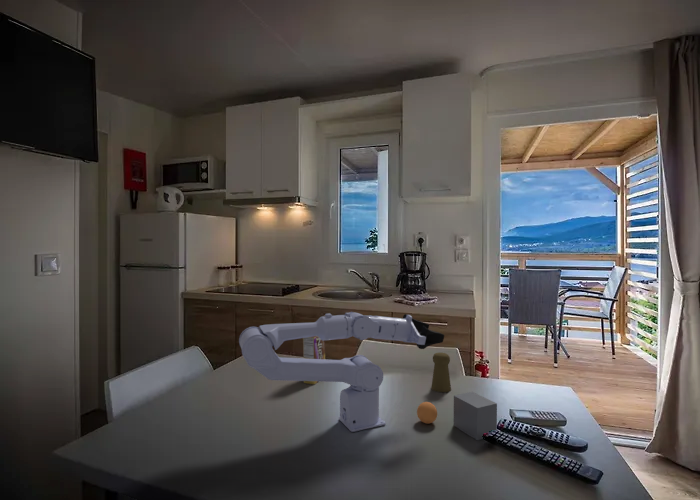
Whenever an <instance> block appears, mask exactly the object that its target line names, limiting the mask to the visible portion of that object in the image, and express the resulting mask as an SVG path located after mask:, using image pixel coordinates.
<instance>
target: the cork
mask: <svg viewBox="0 0 700 500" xmlns="http://www.w3.org/2000/svg"><path fill="white" fill-rule="evenodd" d="M432 361H433V365H434V366H433V371H432V372H433V374H432V378H431V379H432V380H431V386H430V389H431V390H432V391H434V392H438V393H449V392H451V391H452V386H451V379H450V378H451V377H450V368H449V364H450V363H451V362H450V361H451V358H450V355H449V354H448V353H446V352H435V353H434V354H433V356H432Z"/></svg>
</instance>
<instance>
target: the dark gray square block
mask: <svg viewBox="0 0 700 500" xmlns="http://www.w3.org/2000/svg"><path fill="white" fill-rule="evenodd" d="M497 412H498V403H497V402H495V401H493V400H491V399H488V398H486V397H484V396H482V395H480V394H478V393H476V392H474V391H469V392H465V393H460V394H455V395H453V426H454V427H455V428H456V429H459V430H460V431H462V432H463V433H465V434H466V435H468V436H469V437H471V438H472V439H474V440H475V441H480V440H483V437H482V436H483V434H484V433H487V432H489V431H491V430H497V429H498V428H497V427H498V413H497ZM497 431H498V430H497Z"/></svg>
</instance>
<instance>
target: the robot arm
mask: <svg viewBox="0 0 700 500" xmlns="http://www.w3.org/2000/svg"><path fill="white" fill-rule="evenodd" d="M313 336H318V337H319V338H320V339H321V340H322V341H325V342H326V341H331V340H332V341H333V340H342V339H343V340H344V339H349V338H351V337H354V338H355V339H358V340H360V341H365V340H367V339H369V338H371V339H376V340H386V341H400V342H404V343H413V344H416V347H417V348H418V349H419V350H424V349H426V348H428V347H430V346H432V345H436V344H441V343H444V339H445V334H444V333H442V332H439V331H434V330H431V329H430V324H428V323H426V322H424V321H420V320H418V319H415V318H413V316H412V315H411V314H407V313H406V314H405V313H404V315H403V316H402V318H401V317H390V316H381V315H370V314H369V315H365V314H364V315H363V314H362V313H359V312H354V311H350V312H345V313H344V314H337V315H333V314H331V313H330V312H329V313H325V314H324V315H322V316H320V317H319V318H318V319H316V321H314V322H296V323H295V322H293V323H271V324H270V323H269V324H263V325H259V326H258V327H257V326H249V327H246V328H245V329H244V330H242V332H241V333H240V335H239V336H238V337H239V338H238V343H239V347H240V349H241V354H242V357H243V359H244V360H245V362H246V364H247V366H248V367H250V368H252V369H253V370H255V371H256V372H257V373H259V374H261V376H263V377H264V378H266V379H267V380H270V381H290V382H292V381H293V382H294V381H296V382H304V381H318V382H331V383H334V382H335V383H336V382H337V383H338V382H339V383H344V384H347V385H349V386H348V387H347V388H344V389H342V390H341V391H340V393H339V394H340V395H339V417H338V420H339V421H340V422H341V423H342V424H343V425H344V426H345V427H346V428H347V429H348V431H350V432H352V433H354V432H358V431H362V430H363V431H364V430H368V429H372V428H376V427H380V426H385V425H386V424H387V423H386V421H385V420H384V419H382V418H381V417H380V387H381V385H382V383H383V381H384V371H383V369H382V368H381V367H380V366H379V365H378V364H376V363H375V362H372V361H371V360H370V359H368V357H366V356H365V355H363V354H356V355H354V356H352V357H344V358H342V359H326V358H325V359H306V358H303V357H300V358H299V357H279V355H278V354H277V353H276V352H275V351H276V350H278V349H279V348H280V347H281V345H282V344H283V343H284V342H286V341H292V340H297V339H298V340H299V339H303V338H307V337H313ZM273 348H274V349H273Z"/></svg>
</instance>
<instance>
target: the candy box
mask: <svg viewBox="0 0 700 500" xmlns="http://www.w3.org/2000/svg"><path fill="white" fill-rule="evenodd" d="M302 344H303V347H302V349H303V350H302V351H303V353H302V354H303V357H302V358H306V359H326V340H325V341H322V340H321V339H320V338H319V337H318V336H313V337H307V338H302ZM303 383H304V384H309V385H316V384H317V383H319V381H303Z"/></svg>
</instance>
